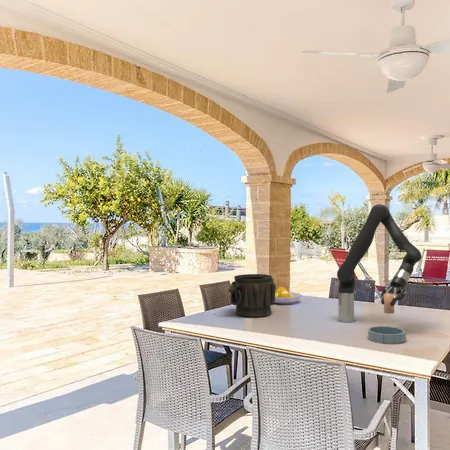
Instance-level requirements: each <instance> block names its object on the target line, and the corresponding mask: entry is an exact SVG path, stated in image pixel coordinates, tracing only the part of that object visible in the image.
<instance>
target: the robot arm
mask: <svg viewBox="0 0 450 450" xmlns="http://www.w3.org/2000/svg"><path fill="white" fill-rule="evenodd" d="M380 223H381V224H382V225H383V226H384V228H385V229H386V231H387V232H388V234H389V236H390V239H391V240H392V242H393V243H394V244H395V246H396V247H397V249H398V250H399V251H401V252H402V251H403V252H405V253H406V254H405V255H404V257H403V260H402V262H401V265H400V266H399V268H398V270H397V271H396V272H395V274H394V275H393V278H392V279H391V281H390V283H389V286H388V287H386V286H383V287H382V290H381V292H380V293H381V294H380V295H381V297H382V298H381V300H380V304H382V305H383V306H384V293H392V294H394V298H393V299H392V301H391V303H390V305H391V306H394V307H395V305H396V303H397V302H398V301H400V302H401V301H402V300H403V298H404V297H405V296H406V294H407V293H408V292H407V291H406V285H407V284H408V282H409V281H410V278H411V275H413V272H414V269H415V268H414V267H415V265H416V264H417V263H419V262H420V261H421V259H422V257H423V256H422V253H421V251H420V250H419V249H418V248H417V247H416V246H415V245H414V244H412V243H411V242H410V241H409V239H408V238H407V236H406V235H405V234H404V232H403V231H402V229H400V227H399V226H398V225H397V223H396V221H395V219H394V218H393V216H392V213H391V212H390V210H389V208H388V206H386V205H384V204H380V203H377V204H374V205H373V206H372V207H371V209H370V211H369V214H368V216H367V218H366V220H365V222H364V224H363V226H362V227H361V229H360V231H359V233H358V234H357V236H356V237H355V240H354V241H353V243H352V245H351V247H350V250H349V251H348V254H347V256H346V257H345V260H344V261H343V262H342V263H341V265H340V266H339V268H338V270H337V272H336V277H337V279H338V280H339V281H338V282H339V284H338V287H337V290H338V291H337V292H338V295H337V296H338V300H337V301H338V304H337V305H338V308H337V310H338V311H337V312H338V314H337V315H338V322H341V323H342V322H343V323H354V321H355V284H356V283H355V281H356V276H355V270H356V267H357V265H358V264H359V263H360V261H362V259H363V257H365V255H366V254H367V252H368V250H369V249H370V247H371V245H372V243H373V241H374V238H375V234H376V230H377V229H378V226H379V225H380Z"/></svg>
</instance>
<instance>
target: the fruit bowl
mask: <svg viewBox="0 0 450 450" xmlns="http://www.w3.org/2000/svg"><path fill="white" fill-rule="evenodd" d="M301 297H302V294H300V293H299V292H293V291H288V289H287V288H285V287H284V286H279V287H278V288H277V289H276V290H275V301H274V303H273V304H279V305H288V304H294V303H296V302H298V301H299V300H300V298H301Z"/></svg>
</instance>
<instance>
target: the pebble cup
mask: <svg viewBox="0 0 450 450" xmlns="http://www.w3.org/2000/svg"><path fill="white" fill-rule="evenodd" d="M393 298H394V294H392V293H384V305H383V313H384V314H388V315H389V314H395V305H394V306H391V305H390V303H391V301H392V299H393Z"/></svg>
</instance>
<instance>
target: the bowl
mask: <svg viewBox="0 0 450 450" xmlns="http://www.w3.org/2000/svg"><path fill="white" fill-rule="evenodd" d="M367 339H368V340H369V339H370V340H369V341H371V340H372V341H371V342H373V341H375V342H374V343H377V342H379V343H378V344H384V343H399V344H403V343H405V342H406V341H407V340H406V339H407V332H406V331H405V329H403V328H399V327H394V326H387V325H386V326H385V325H377V326H370V327H368V328H367Z"/></svg>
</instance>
